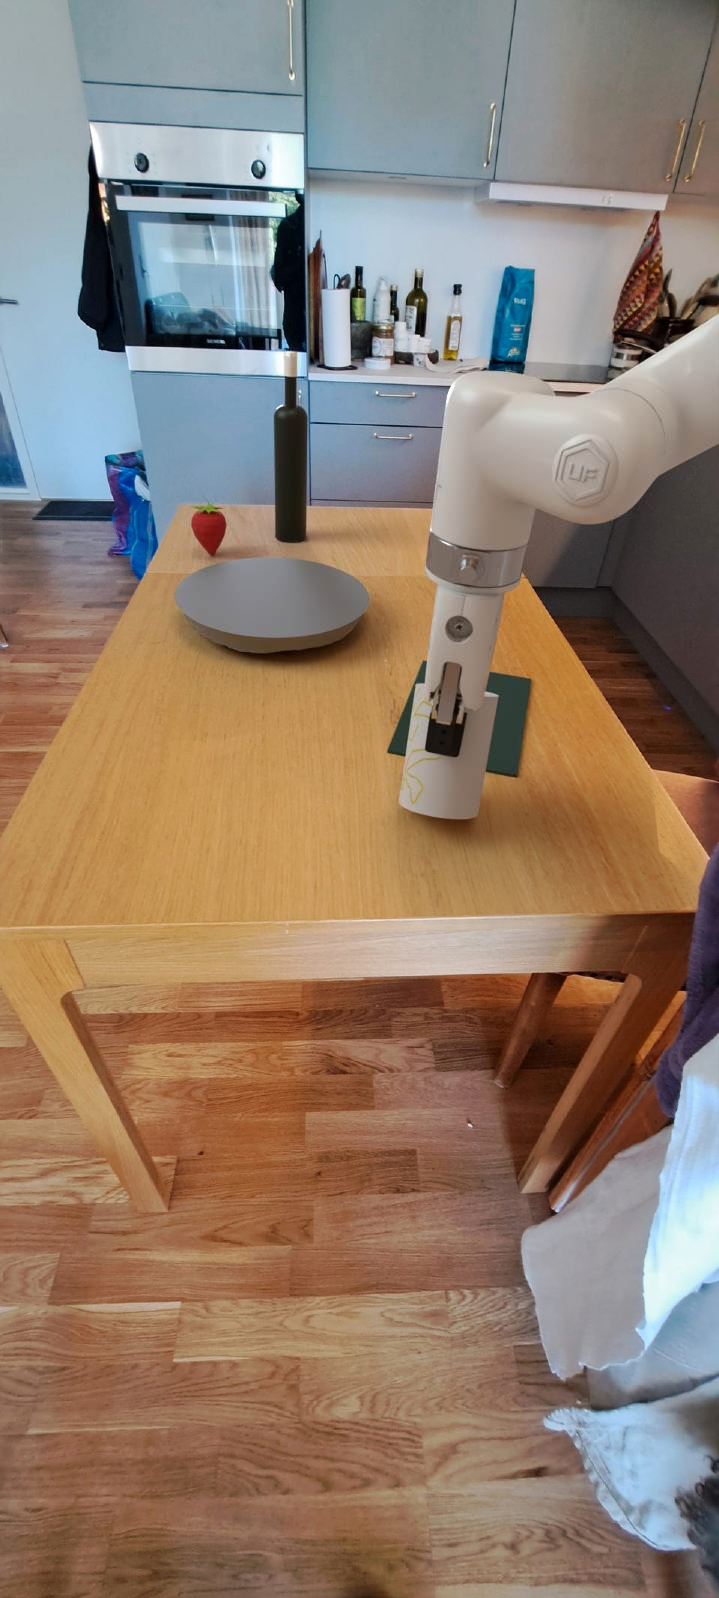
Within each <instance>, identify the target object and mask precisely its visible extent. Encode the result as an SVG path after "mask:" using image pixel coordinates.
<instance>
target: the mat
mask: <svg viewBox="0 0 719 1598" xmlns="http://www.w3.org/2000/svg"><path fill="white" fill-rule="evenodd" d="M426 666H427V660H424V659H423V660H422V662H421V664H420V668H419V669H418V672H417V675H416V677H415V680H414V682H413V684H412V688H411V690H410V692H409V695H408V697H407V699H406V703H405V705H404V707H403V710H402V713H401V715H400V717H399V720H398V723H397V725H396V728H395V730H394V733H393V735H392V738H391V741H390V742H389V745H388V748H387V751H386V753H388V754H393V755H398V756H403V757H405V756H406V749H407V742H408V735H409V728H410V721H411V714H412V707H413V700H414V693H415V686H416V684H420V683H425V676H426ZM531 682H532V678H529V677H523V676H517V675H511V674H506V673H500V672H494V671H490V673H489V677H488V682H487V686H486V690H485V692H490V693H493V694H496V695H498V702H497V707H496V713H495V719H494V725H493V731H492V736H491V742H490V748H489V754H488V760H487V765H486V771H485V773H486V772H487V773H492V774H497V775H503V776H507V777H513V778H518V774H519V768H520V760H521V753H522V747H523V739H524V734H525V733H524V731H525V725H526V717H527V710H528V704H529V697H530V691H531V684H532V683H531Z"/></svg>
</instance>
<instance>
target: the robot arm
mask: <svg viewBox="0 0 719 1598" xmlns="http://www.w3.org/2000/svg"><path fill="white" fill-rule="evenodd" d="M441 431H442V432H441V439H440V446H439V453H438V454H439V455H438V462H437V471H436V479H435V485H434V486H435V487H434V494H433V501H432V502H433V503H432V510H431V516H430V517H431V519H430V526H429V527H430V528H429V535H428V543H427V549H426V557H425V564H424V565H425V566H424V573H425V575H426V577H427V578H428V579H429V580H430V581H431V582H433V583H435V584H437V585H436V592H435V597H434V598H435V599H434V603H433V605H434V606H433V612H432V618H431V626H430V632H429V633H430V634H429V641H428V648H427V649H428V650H427V659H426V661H427V666H426V676H425V687H424V697H425V698H426V700H427V701H428V702H430V701H431V700H433V699H434V701H433V707H432V711H431V713H430V717H429V724H428V730H427V737H426V744H425V750H426V751H427V752H429V753H434V754H439V755H445V756H450V757H458V756H459V753H460V749H461V745H462V739H463V734H464V729H465V723H466V718H467V713H466V712H464V711H465V709H466V708H468V709H473V711H476V710H478V709H479V708H480V707H481V706H482V703H483V699H484V695H485V690H486V686H487V682H488V677H489V673H490V672H491V667H492V664H493V657H494V653H495V649H496V643H497V640H498V633H499V629H500V622H501V618H502V612H503V608H504V600H505V593H508V592H511V591H513V590H514V589H516V588H517V587H519V585H520V584H521V579H522V574H523V569H524V564H525V560H526V557H527V556H526V555H527V550H528V545H529V540H530V536H531V532H532V527H533V522H534V519H535V513H536V509H537V510H540V511H542V512H545V513H546V514H549V515H552V516H553V517H556V518H559V519H562V520H564V521H566V522H571V523H575V524H580V525H601V524H604V523H608V522H611V521H613V520H616V519H618V518H620V517H622V516H623V515H624V514H625V513H627V512H629V510H631V509H632V508H633V507H634V506H635V505H636V504H638V502H639V501H640V500H641V499H642V497H643V496H645V493H646V492H647V491H648V490H649V488H650V487H651V485H653V483H654V482H655V481H656V479H657V478H658V477H659V476H661V475H662V474H664V473H666V472H668V471H670V470H672V469H673V468H675V467H677V466H679V465H680V464H683V463H684V462H686V461H688V460H690V459H692V458H694V457H697V456H698V455H700V454H702V453H703V452H705V451H708V450H709V449H711V448H713V447H715V446H717V445H719V313H717V314H716V315H715V316H713V317H711V318H710V319H708V320H706V321H705V322H703V323H702V324H700V325H699V326H698V327H696V328H694V329H692V330H691V331H690V332H688V333H686V334H684V335H683V336H682V337H680V338H678V339H676V340H675V341H674V342H672V343H670V344H669V345H667V346H666V347H664V348H662V349H660V350H659V351H658V352H656V353H655V354H653V355H651V356H650V357H648V358H646V359H645V360H644V361H641V362H640V363H638V364H637V365H635V366H634V367H632V368H630V369H628V370H627V371H624V373H622V374H620V375H619V376H617V377H615V378H614V379H612V380H611V381H609V382H607V383H605V384H603V385H601V386H599V387H597V388H596V389H594V390H592V391H590V392H589V393H585V394H581V395H576V396H563V395H562V396H560V395H556V393H555V391H554V389H553V387H552V386H551V384H549V383H548V382H546V381H544V380H542V379H540V378H538V377H535V376H532V375H527V374H522V373H518V372H510V371H500V370H475V371H470V372H467V373H464V374H461V375H460V376H459V377H457V378H455V380H454V381H453V382H452V384H451V386H450V388H449V390H448V393H447V396H446V401H445V406H444V415H443V421H442V429H441Z"/></svg>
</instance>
